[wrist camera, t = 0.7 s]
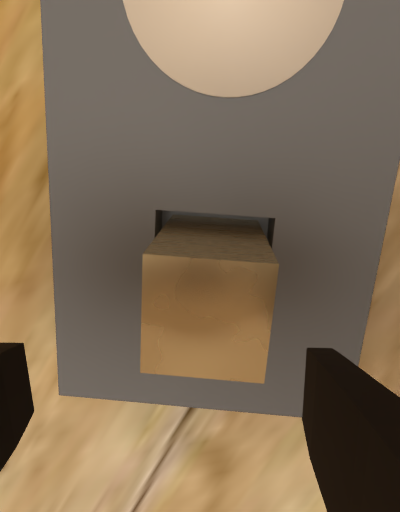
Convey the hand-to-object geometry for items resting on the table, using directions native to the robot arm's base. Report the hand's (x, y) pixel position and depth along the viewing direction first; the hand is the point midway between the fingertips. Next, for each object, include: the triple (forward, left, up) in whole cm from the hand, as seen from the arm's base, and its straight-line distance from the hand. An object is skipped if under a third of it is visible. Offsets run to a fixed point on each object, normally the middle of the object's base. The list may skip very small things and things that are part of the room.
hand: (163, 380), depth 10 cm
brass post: (-1, -1, -9) cm, 9 cm away
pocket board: (-1, -6, -10) cm, 11 cm away
